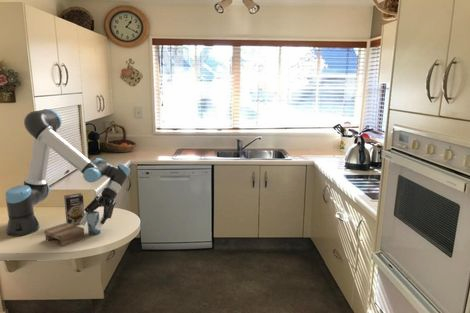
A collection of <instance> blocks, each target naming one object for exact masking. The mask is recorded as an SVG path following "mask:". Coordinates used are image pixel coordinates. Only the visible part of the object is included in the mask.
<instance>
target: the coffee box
mask: <svg viewBox="0 0 470 313" xmlns="http://www.w3.org/2000/svg"><path fill="white" fill-rule="evenodd" d="M63 201H64V211H65V219H66V220H65V223H69V224H72V225H75V226H77V225H81V224H80V222H81V220H82V219H83V216H84V215H85V213H86V212H85V210H84V209H85V205H84V204H85V203H84V195H83V194H82V193H81V192H79V193H72V194H67V195H65V194H64V195H63Z"/></svg>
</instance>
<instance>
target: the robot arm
mask: <svg viewBox="0 0 470 313" xmlns="http://www.w3.org/2000/svg"><path fill="white" fill-rule="evenodd" d="M23 126H24V128H25V130H26V131H27V132H28V133H29V134H30V136H31V137H33V142H32V143H33V144H32V150H31V155H30V162H29V170H28V175H27V177H25V178H24V181H23V185H21V184H20V185H16V186H13V187H9V189H7V190H6V192H5V201H6V203H5V204H6V209H7V216H8V221H7V226H6V234H7V235H8V234H10V235H21V236H25V235H24V234H26V235H29V233H30V234H33V233H35V232H36V231H38V230H40V222H39V221H38V219H37V217H36V216H35V211H34V207H35V205H37V204H39V203H41V202H43V201H44V200H45V199H46V198H48V196H49V195H50V192H51V189H50V185H49V183H48V179H47V178H46V176H47V170H48V165H49V159H50V153H51V150H53V151H54V152H55V153H57V155H59V156H60V157H61V158H63V159H64V160H65V161H66V162H67V163H69V164H70V165H71V166H73V167H74V168H75V169H76V170H78V171H79V172H80V173H82V177H83V179H84V180H85V181H86V182H87V183H95V182H97V181H99V180H101V179H102V177H103V178H104V177H107V178H109V180H108V181H107V183H106V185H104V186H105V187H104V188H103V189H102V191H101V196H99V195H96V196H95V197H94V198H93V200H92V201H91V202H90V203H89V204H88V205H87V206H86V207H84V213H85V215H84V216H83V219H82V220H81V222H80V224H79V225H81V226H85V225H86V223H87V213H89V212H92V211H95V210H96V211H97V209H98V208H100V207H103V215H102V216H101V217H100V220H99V222H98V224H97V225H96V227H95V228H96V229H97V230H101V228H102V227H103V225H105V223H106V221H107V220H108V219H111V218H112V216H113V211H114V209H115V206H116V203H117V201H116V200H115V198H117V195H118V193H119V192H120V190H121V189H122V187H123V185H124V184H125V181H126V180H127V178H128V176H129V175H130V173H131V168H130V167H128V166H127V165H126V164H122V163H118V164H117V165H115V164H113V163H111V162H109V161H107V160H105V159H102V158H99V157H96V158H95V159H94V160H93V161H91V159H89V158H88V157H86V156H85V155H84V154H83V153H81V151H79V150H78V148H75V147H74V146H73V145H72V144H71V143H69V142H68V141H67V140H66V139H64V138H63V137H62V136H61V135H60V134H58V133H57V131H58V129H59V128H61V126H62V117H61V115H60V114H59V113H58V112H57V111H55V110H54V109H47V108H46V109H44V108H43V109H41V110H40V109H39V110H33V111H30V112H28V113H27V115H26V116H25V118H24V119H23ZM32 232H33V233H32ZM10 235H9V236H10Z"/></svg>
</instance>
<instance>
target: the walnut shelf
mask: <svg viewBox="0 0 470 313" xmlns="http://www.w3.org/2000/svg"><path fill="white" fill-rule="evenodd" d="M44 233H45V234H44V236H45V241H47V240H48V241H47V242H49V240H50V241H52V240H54V238H55V239H57V240H59V244H60V246H61V247H65V246H68V245H70V244H72V243H75V242H77V241H79V240H82V239H84V238H85V228H84V227H81V226H78V225H72V224H69V223H66V222H65V223H62V224H60V225H57V226H55V227H51V228H48V229H45V230H44Z"/></svg>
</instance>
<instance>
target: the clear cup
mask: <svg viewBox="0 0 470 313" xmlns="http://www.w3.org/2000/svg"><path fill="white" fill-rule="evenodd" d="M100 219H101V217H100V212H99V211H97V210H96V211H95V210H94V211H92V212H89V213H87V222H86V223H87V233H88V236H98V235H99V234H101V233H102V232H101V229H100V230H97V229H96V228H95V227H96V225H97V224H98V222H99V220H100Z"/></svg>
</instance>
